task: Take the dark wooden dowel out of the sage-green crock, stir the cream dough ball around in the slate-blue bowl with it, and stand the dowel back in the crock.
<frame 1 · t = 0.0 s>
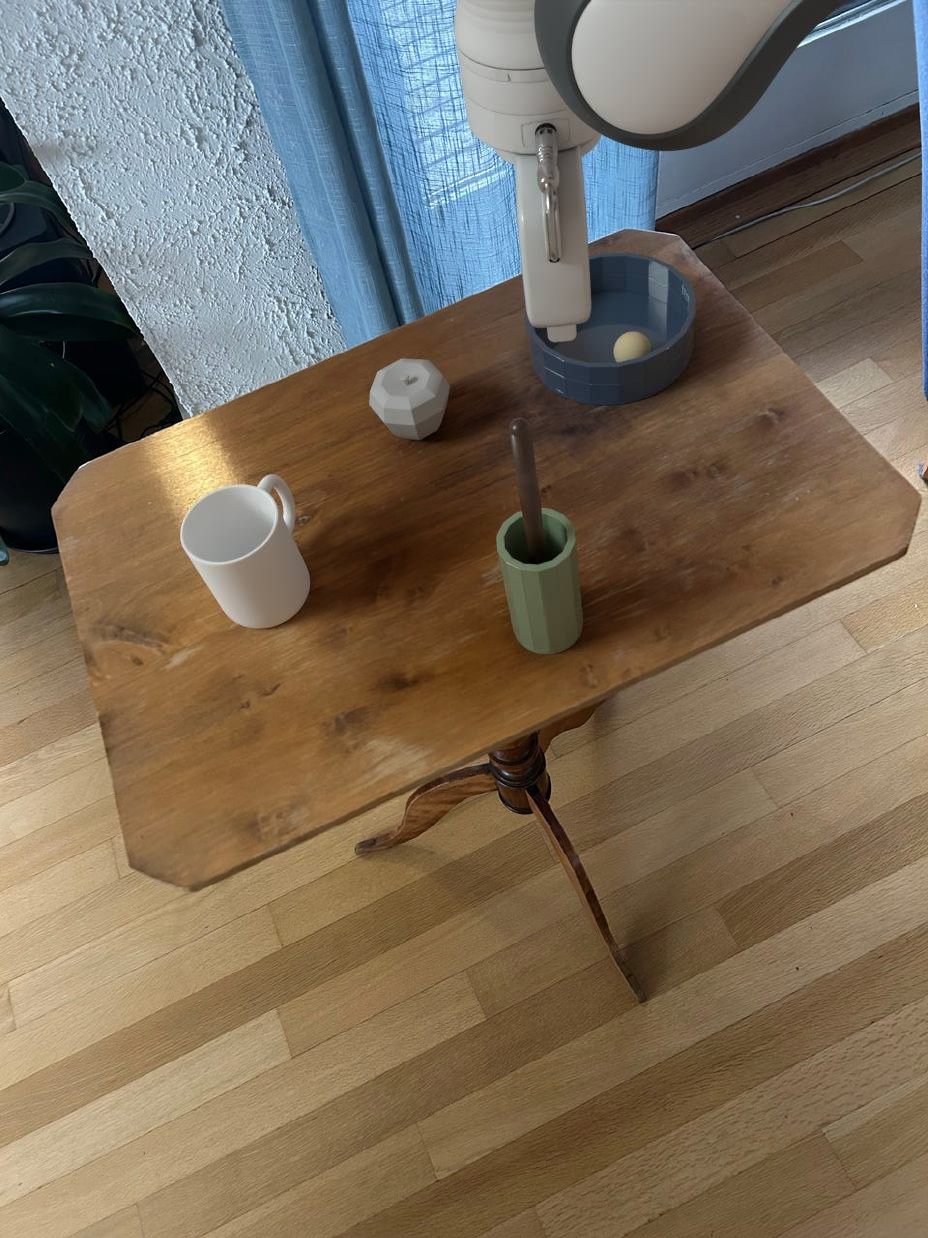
hand: (559, 285, 66), 26 cm above the table, tool pointing down, fingers open, 8 cm apart
grey faceted low-poly ball: (418, 427, 98), on the table
dark wooden dowel: (547, 621, 82), point 1 cm above the table, touching crock
bowl: (610, 346, 99), on the table
crock: (548, 624, 83), on the table
cup: (277, 577, 90), on the table
dough ball: (632, 350, 95), point 2 cm above the table, touching bowl
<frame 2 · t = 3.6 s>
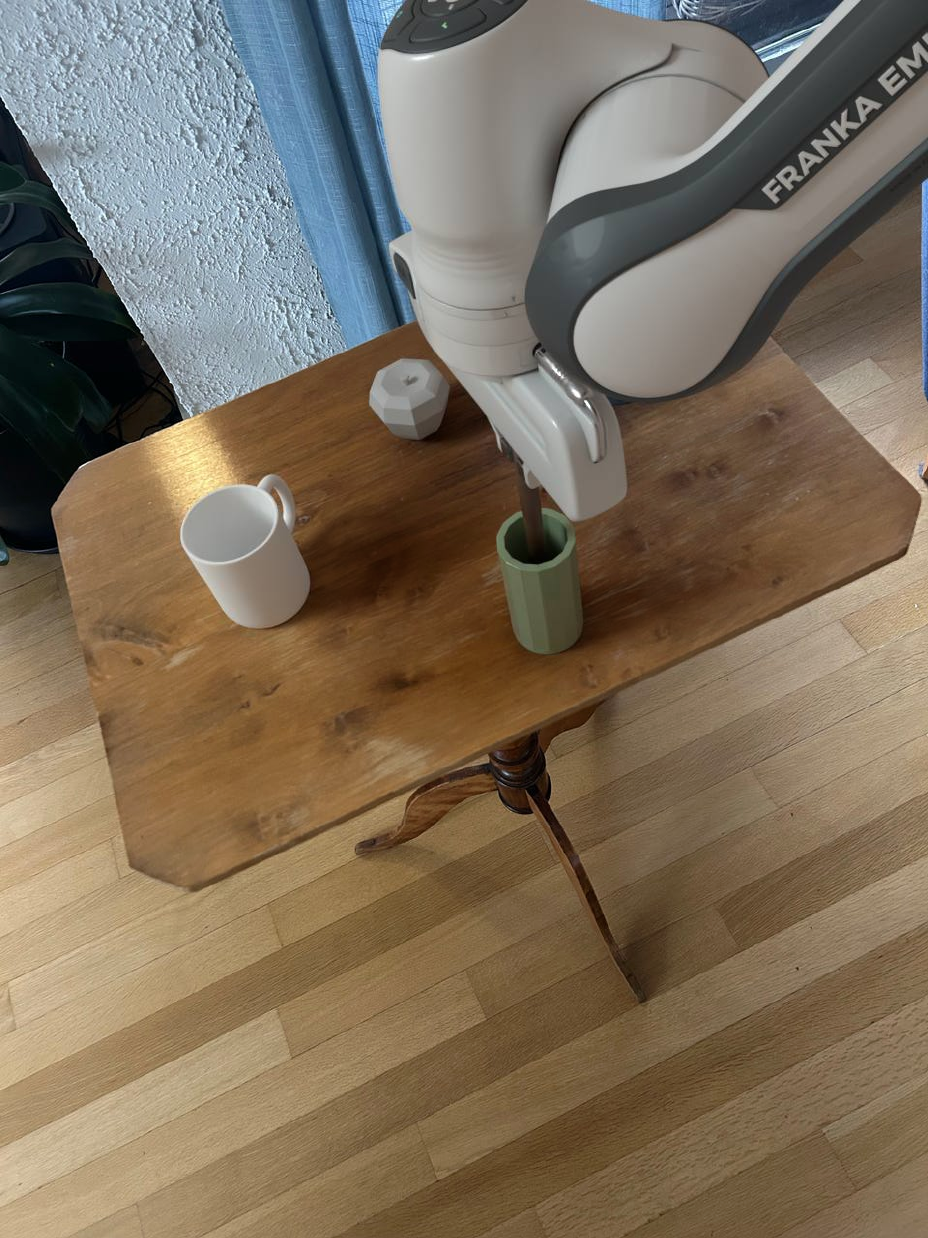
hand: (525, 465, 66), 20 cm above the table, tool pointing down, fingers closed on dark wooden dowel, 1 cm apart
dark wooden dowel: (547, 621, 82), point 1 cm above the table, touching crock, gripper
everything else where it was.
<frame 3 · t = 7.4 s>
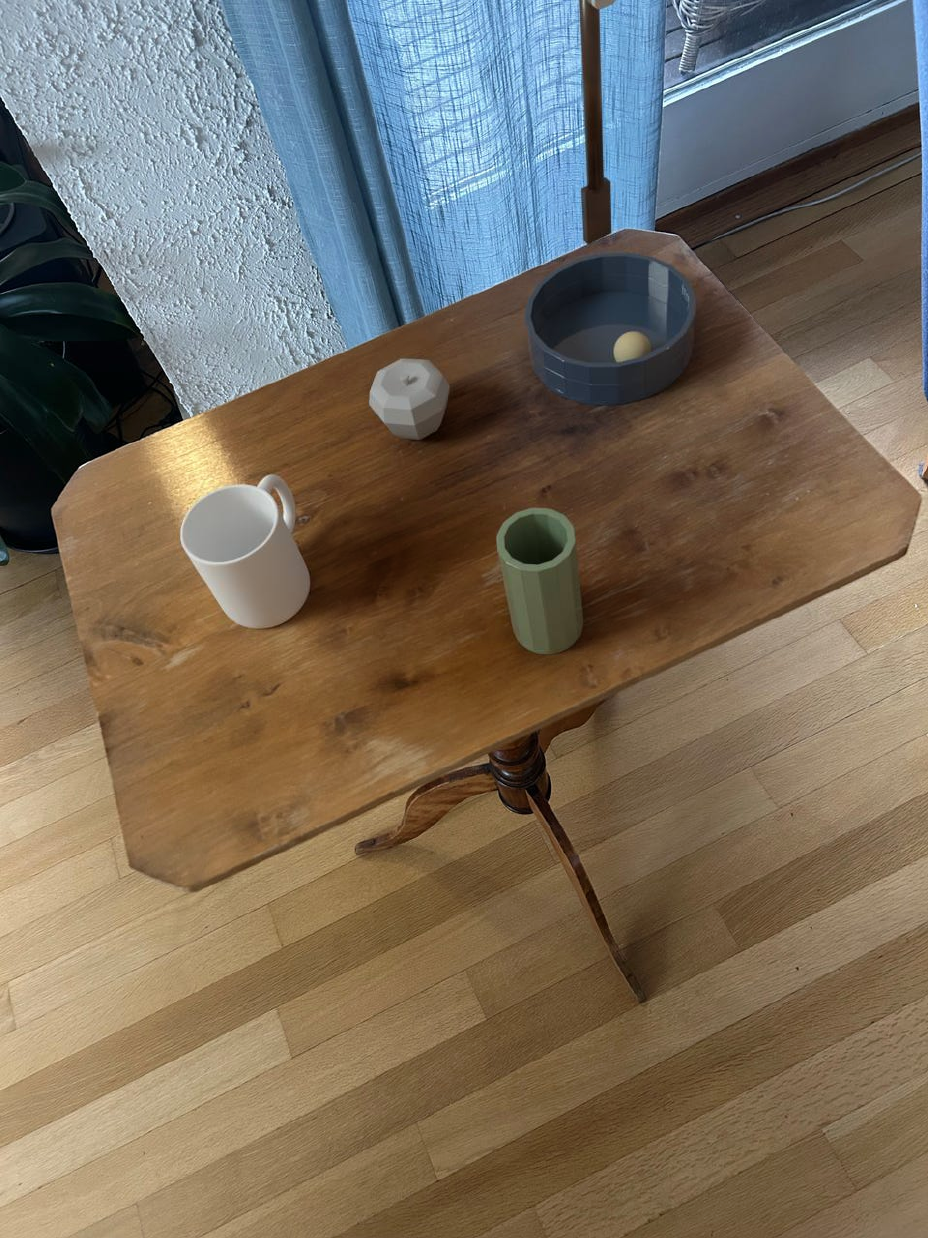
dark wooden dowel: (597, 236, 85), point 15 cm above the table, touching gripper
everything else where it was.
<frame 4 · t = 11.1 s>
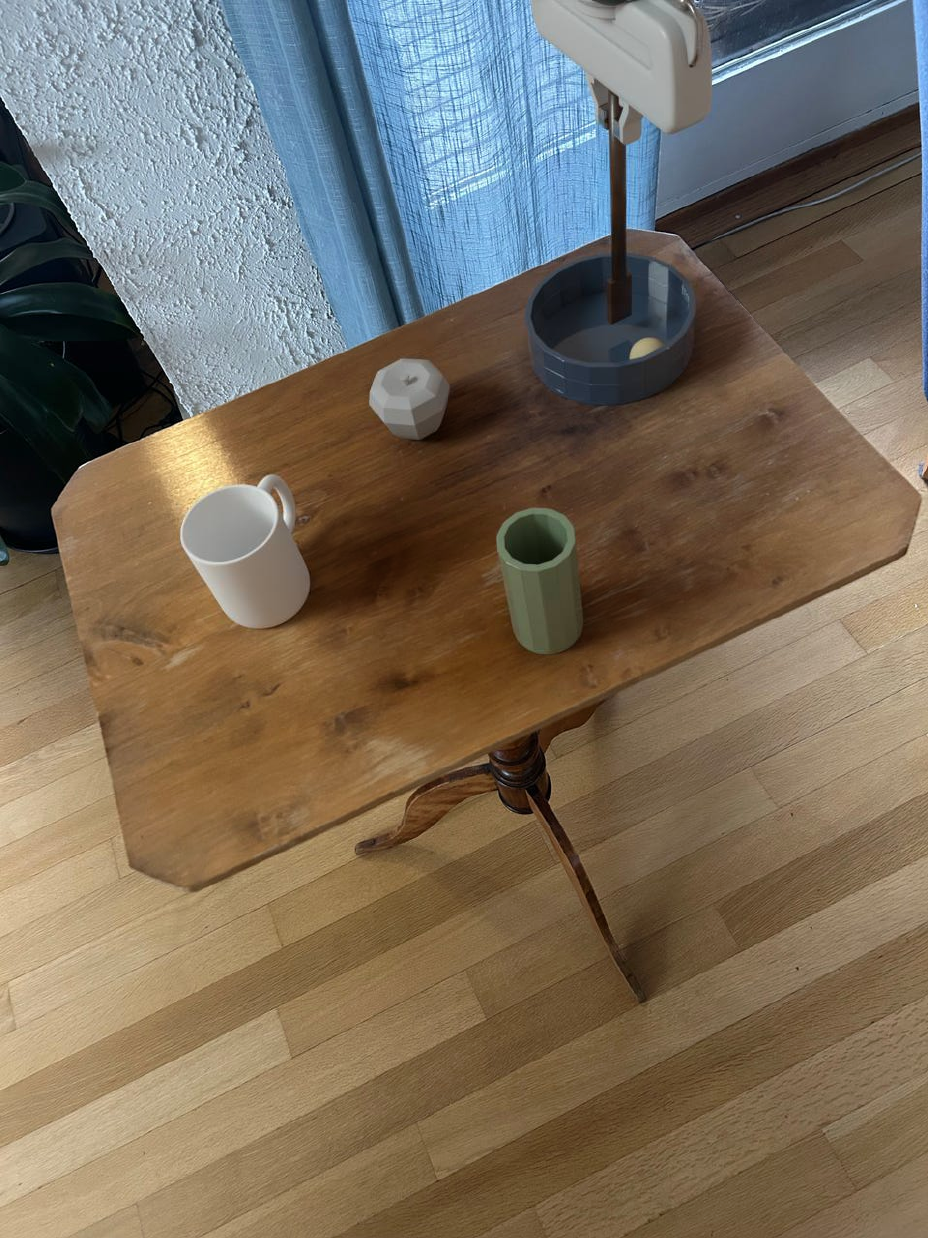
hand: (618, 131, 82), 22 cm above the table, tool pointing down, fingers closed on dark wooden dowel, 1 cm apart
dark wooden dowel: (619, 317, 98), point 2 cm above the table, touching gripper
dough ball: (648, 357, 94), point 2 cm above the table, tilted 58°, touching bowl
everything else where it was.
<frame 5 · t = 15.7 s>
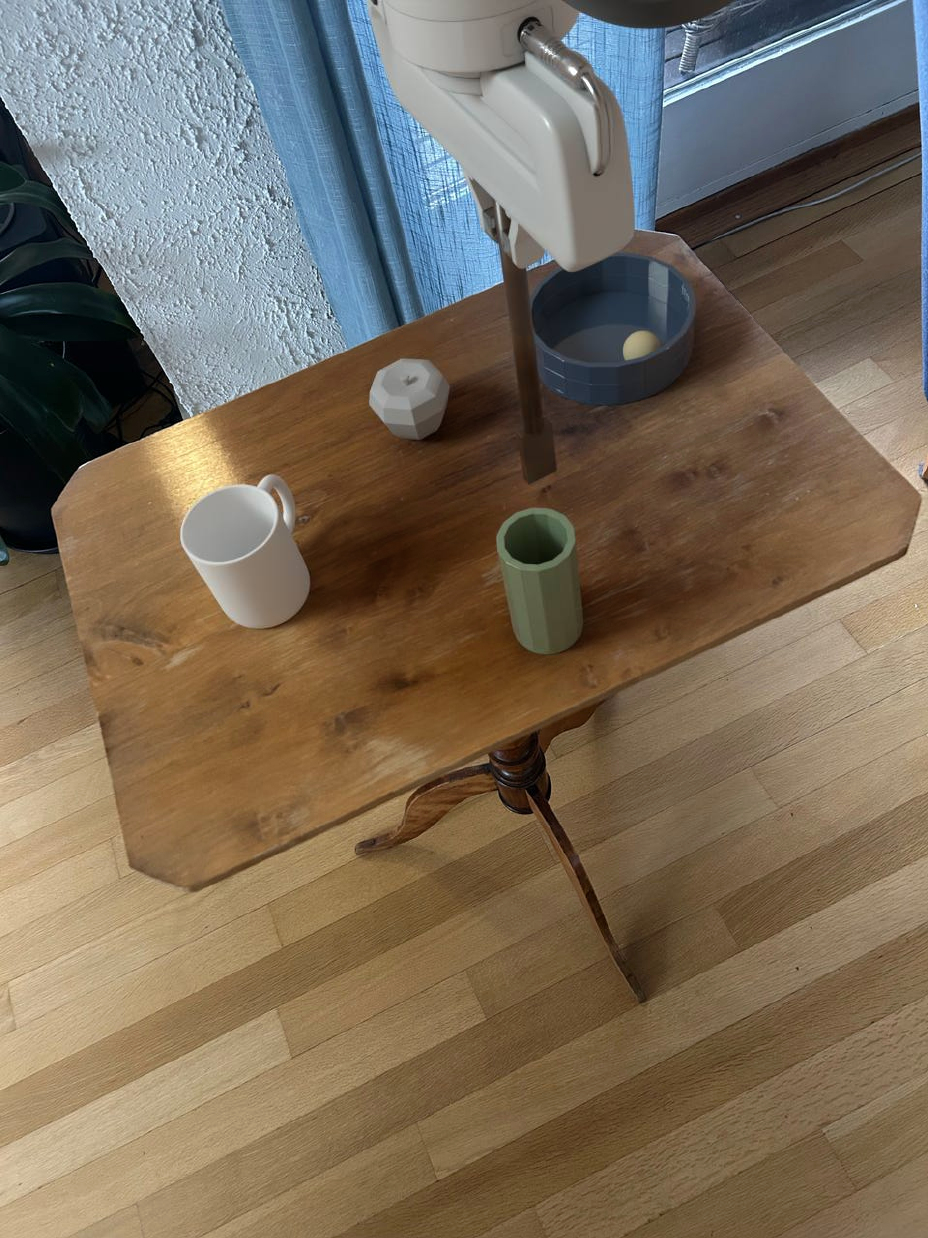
hand: (513, 245, 56), 35 cm above the table, tool pointing down, fingers closed on dark wooden dowel
dark wooden dowel: (540, 474, 72), point 15 cm above the table, touching gripper
dough ball: (641, 350, 95), point 2 cm above the table, tilted 27°, touching bowl
everything else where it was.
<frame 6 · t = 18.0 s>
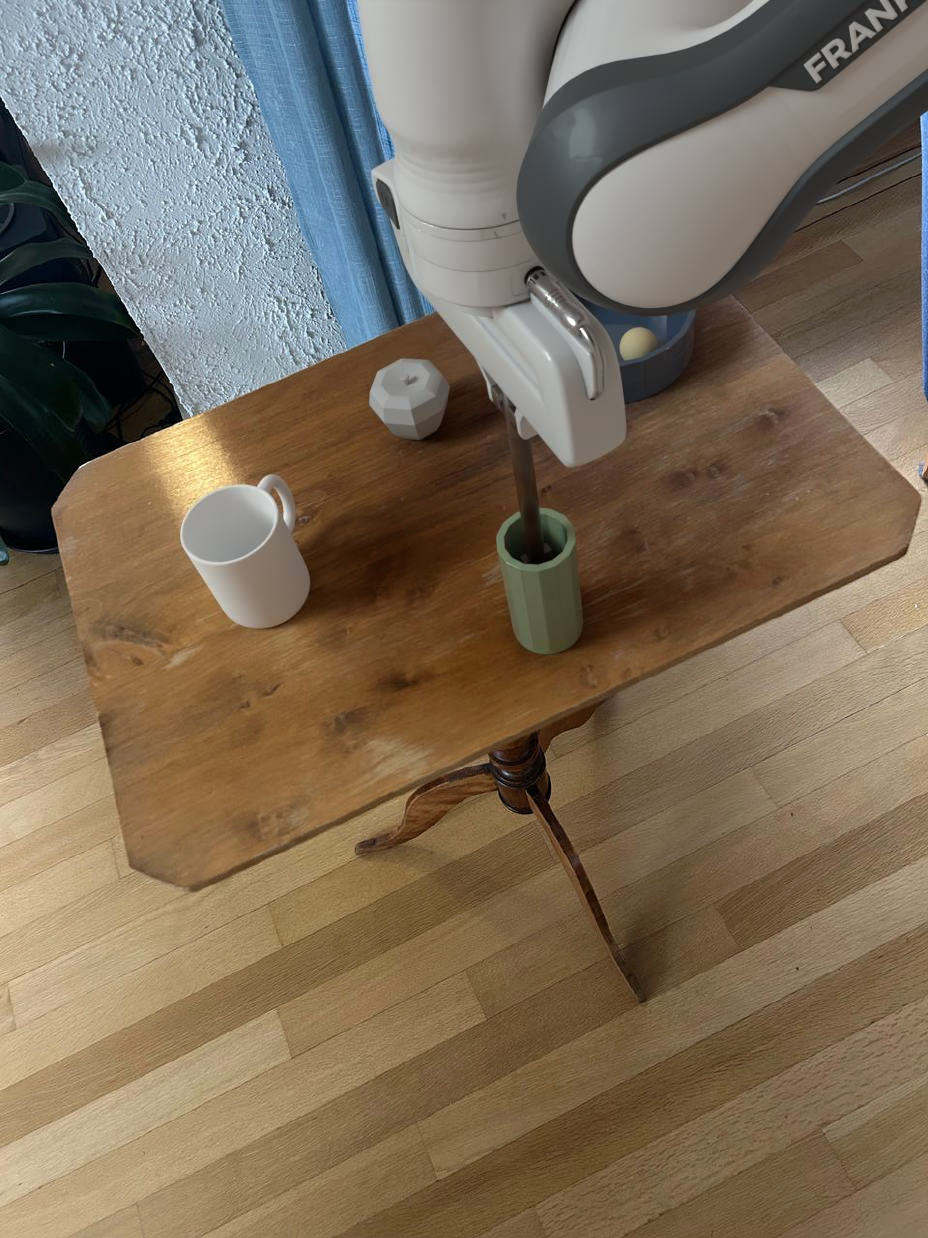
hand: (518, 415, 62), 25 cm above the table, tool pointing down, fingers closed on dark wooden dowel
dark wooden dowel: (541, 590, 78), point 5 cm above the table, touching gripper
dough ball: (638, 346, 95), point 2 cm above the table, tilted 21°, touching bowl
everything else where it was.
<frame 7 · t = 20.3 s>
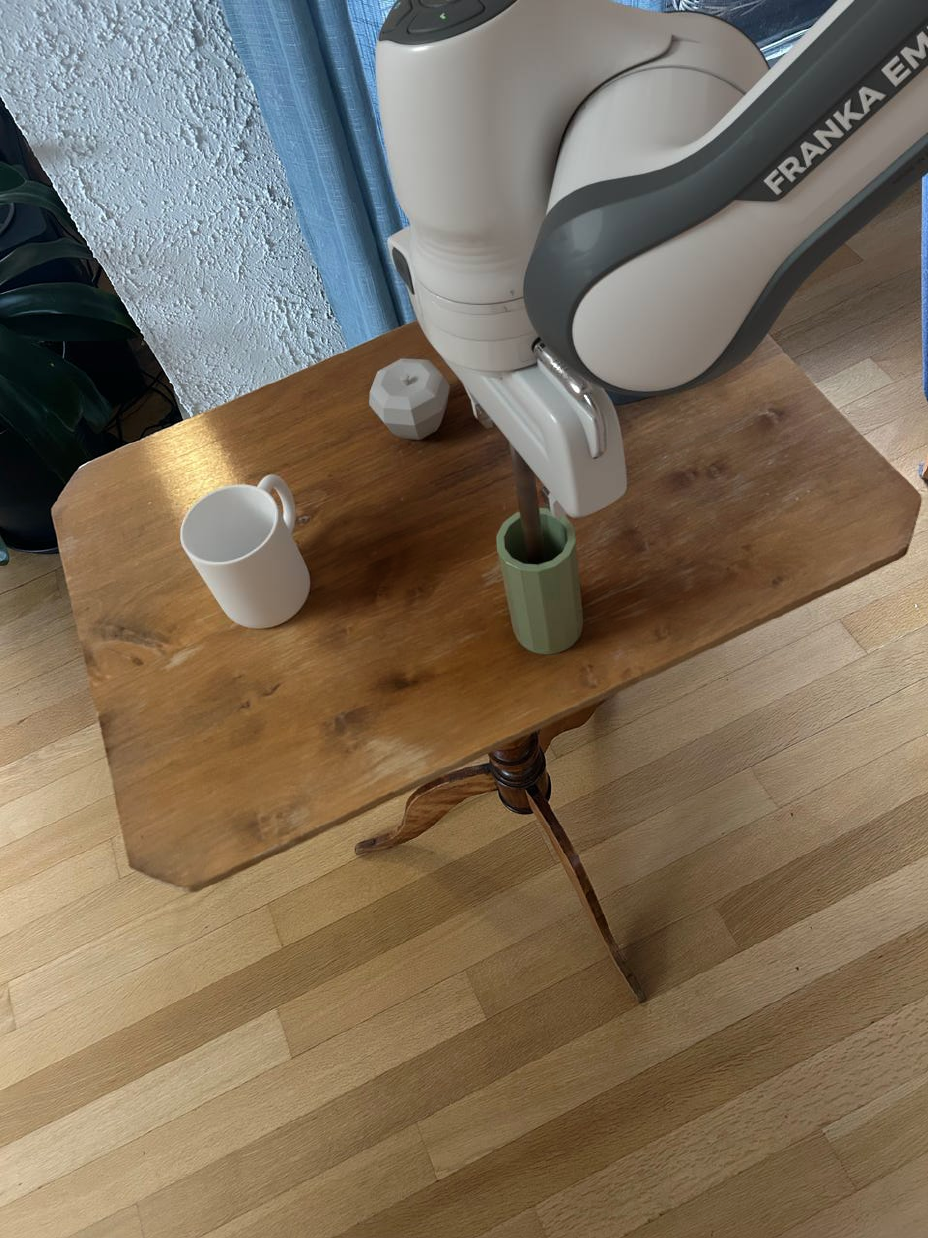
hand: (524, 461, 66), 20 cm above the table, tool pointing down, fingers open, 8 cm apart
dark wooden dowel: (545, 622, 82), point 1 cm above the table, touching crock
dough ball: (635, 343, 96), point 2 cm above the table, tilted 29°, touching bowl
everything else where it was.
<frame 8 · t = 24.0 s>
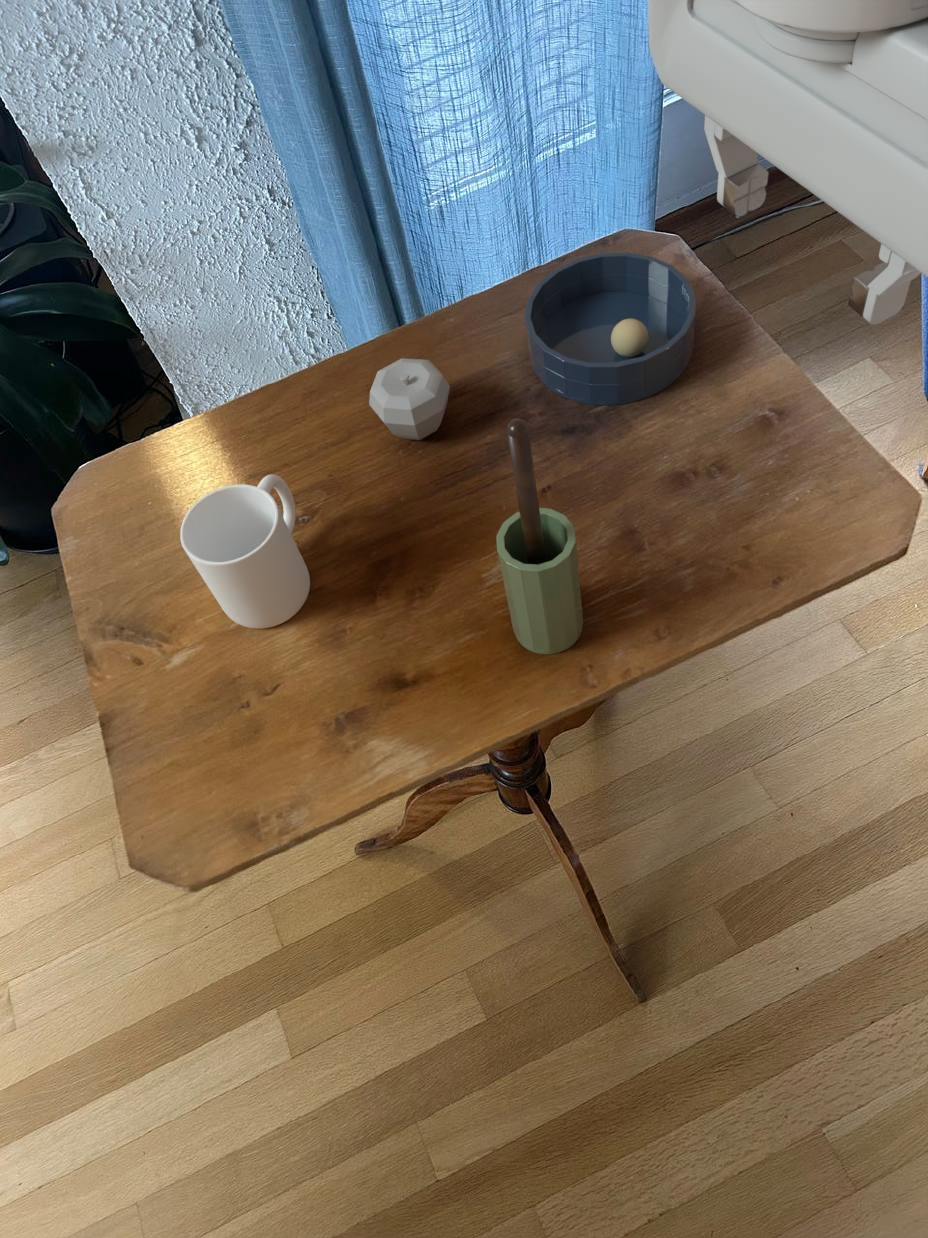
hand: (803, 255, 45), 39 cm above the table, tool pointing down, fingers open, 8 cm apart
dough ball: (629, 337, 96), point 2 cm above the table, tilted 54°, touching bowl
everything else where it was.
at the end: dough ball moved 1.9 cm from its start; dough ball inside the target area in the bowl (2.4 cm from its centre), point 2.4 cm above the bowl's base; dark wooden dowel 0.2 cm off-centre in the crock, point 0.6 cm above the crock's base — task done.
